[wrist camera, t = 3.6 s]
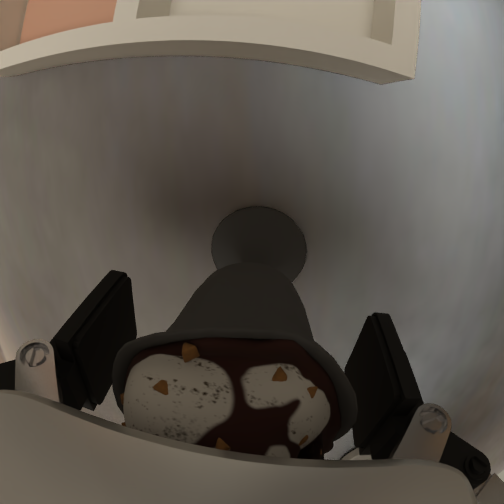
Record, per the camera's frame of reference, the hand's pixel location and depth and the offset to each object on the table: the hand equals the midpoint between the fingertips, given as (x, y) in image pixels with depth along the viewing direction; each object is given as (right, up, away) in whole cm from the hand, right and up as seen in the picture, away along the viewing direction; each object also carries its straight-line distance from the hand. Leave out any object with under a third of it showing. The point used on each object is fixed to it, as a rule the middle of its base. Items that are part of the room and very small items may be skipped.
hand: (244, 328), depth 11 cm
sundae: (+1, +3, +6) cm, 6 cm away
